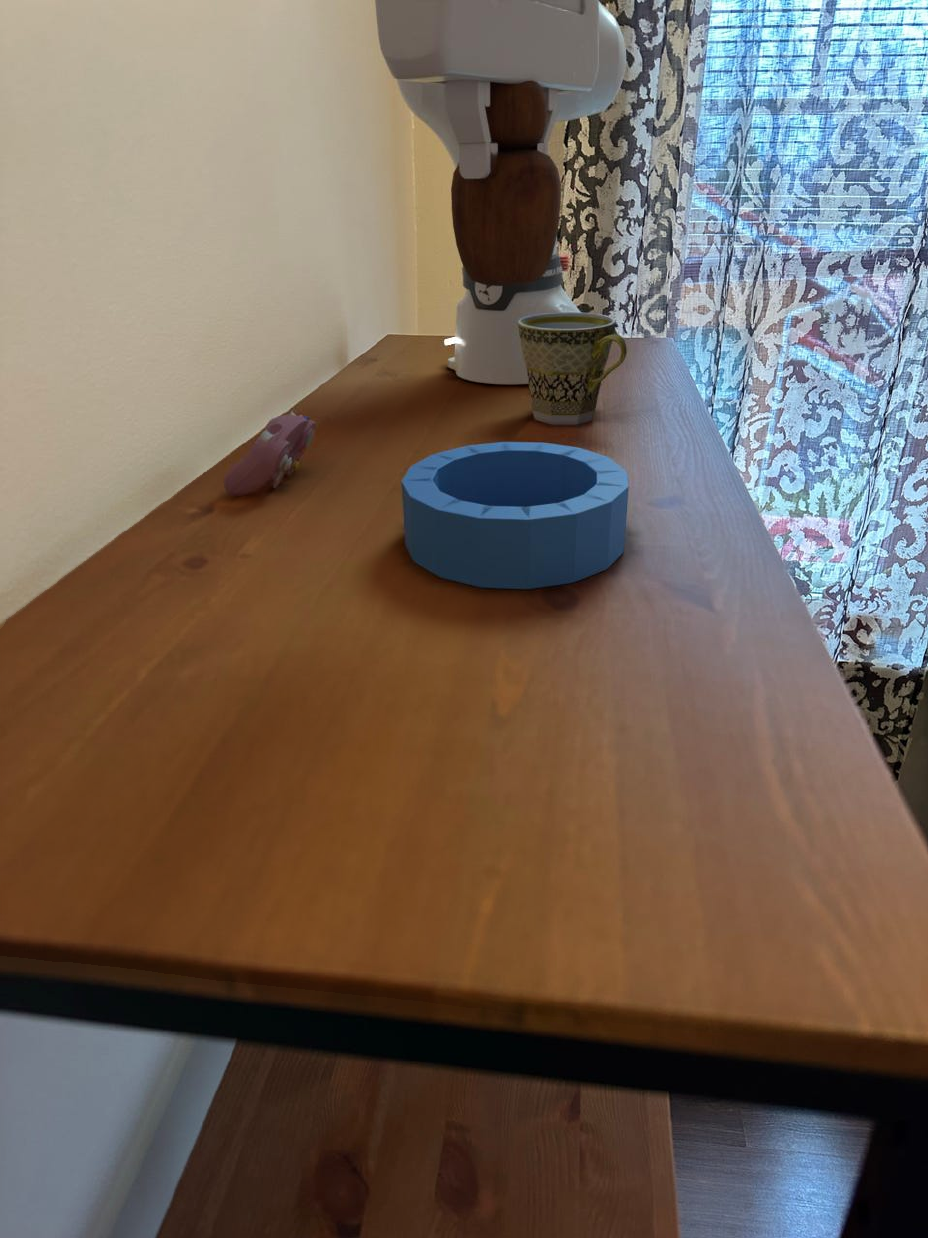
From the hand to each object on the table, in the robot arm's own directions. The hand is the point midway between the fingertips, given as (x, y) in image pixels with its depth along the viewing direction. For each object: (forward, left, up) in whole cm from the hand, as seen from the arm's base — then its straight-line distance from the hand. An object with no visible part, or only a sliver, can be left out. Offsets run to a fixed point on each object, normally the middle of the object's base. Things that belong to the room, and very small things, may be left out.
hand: (505, 176), depth 51 cm
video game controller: (-1, -24, -24) cm, 34 cm away
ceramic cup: (-31, -8, -24) cm, 40 cm away
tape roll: (0, +1, -24) cm, 24 cm away
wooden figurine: (0, 0, -6) cm, 6 cm away
